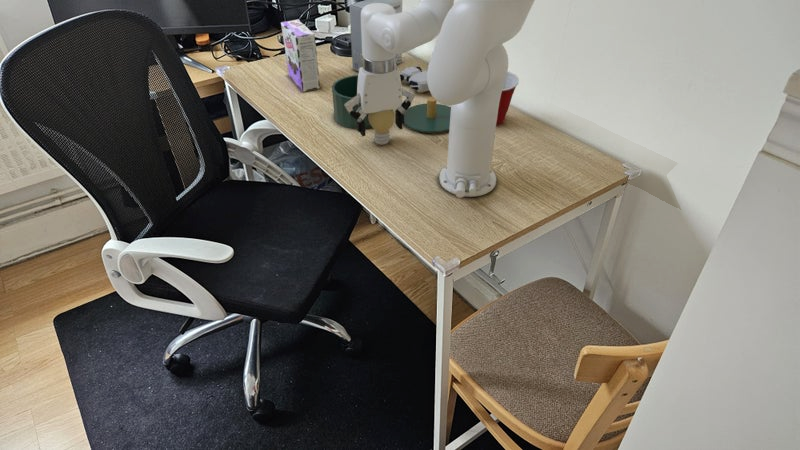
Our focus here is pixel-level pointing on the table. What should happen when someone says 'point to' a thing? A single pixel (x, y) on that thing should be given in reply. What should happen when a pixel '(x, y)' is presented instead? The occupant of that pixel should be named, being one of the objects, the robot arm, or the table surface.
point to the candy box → (301, 54)
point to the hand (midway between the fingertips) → (380, 130)
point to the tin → (342, 94)
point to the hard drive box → (355, 23)
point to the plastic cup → (506, 96)
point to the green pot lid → (428, 117)
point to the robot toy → (415, 78)
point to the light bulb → (381, 125)
